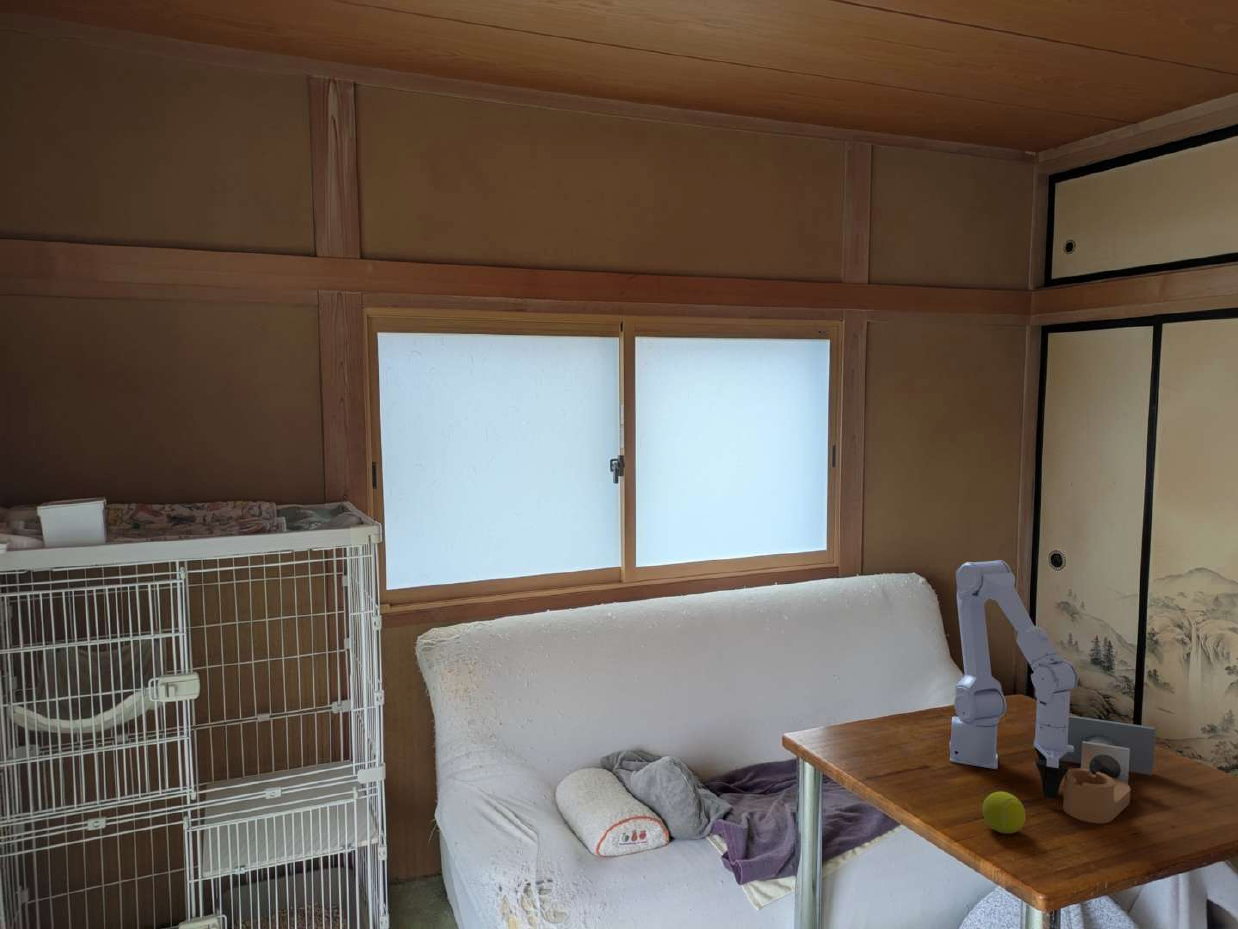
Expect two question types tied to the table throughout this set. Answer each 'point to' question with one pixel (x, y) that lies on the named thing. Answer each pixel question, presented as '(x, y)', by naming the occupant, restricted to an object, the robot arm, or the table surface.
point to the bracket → (1094, 796)
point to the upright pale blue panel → (1110, 747)
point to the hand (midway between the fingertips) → (1048, 789)
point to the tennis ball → (1003, 812)
